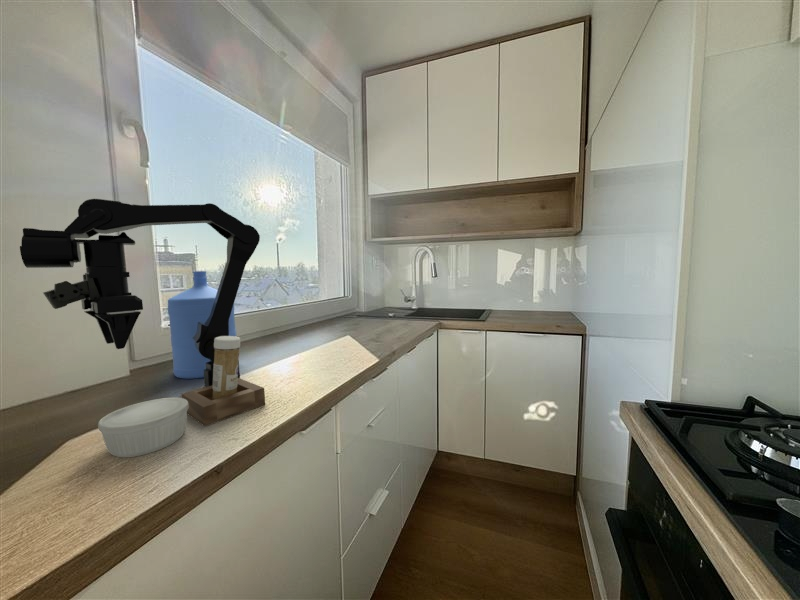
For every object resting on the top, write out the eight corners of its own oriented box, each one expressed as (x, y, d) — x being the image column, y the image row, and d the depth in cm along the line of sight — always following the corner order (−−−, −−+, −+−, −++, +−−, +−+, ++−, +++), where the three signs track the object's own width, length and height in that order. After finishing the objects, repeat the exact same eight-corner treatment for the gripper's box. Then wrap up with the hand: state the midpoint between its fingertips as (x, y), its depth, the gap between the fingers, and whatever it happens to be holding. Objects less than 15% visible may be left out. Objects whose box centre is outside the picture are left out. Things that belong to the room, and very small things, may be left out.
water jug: (250, 366, 91) (243, 270, 89) (191, 383, 77) (181, 270, 75) (220, 360, 99) (213, 272, 97) (162, 374, 86) (153, 272, 83)
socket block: (239, 393, 70) (238, 377, 69) (265, 404, 63) (264, 387, 63) (182, 410, 61) (181, 393, 61) (205, 426, 54) (203, 407, 54)
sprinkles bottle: (238, 406, 61) (241, 339, 61) (211, 410, 59) (214, 340, 58) (235, 398, 65) (239, 334, 64) (210, 401, 63) (213, 335, 62)
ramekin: (127, 431, 54) (124, 401, 53) (200, 421, 57) (198, 393, 56) (81, 469, 43) (77, 433, 43) (174, 454, 46) (171, 420, 46)
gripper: (40, 269, 60) (50, 348, 62) (48, 265, 49) (61, 362, 50) (117, 268, 69) (124, 338, 70) (139, 265, 57) (147, 348, 59)
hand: (115, 345), depth 62 cm, fingers open, 9 cm apart
